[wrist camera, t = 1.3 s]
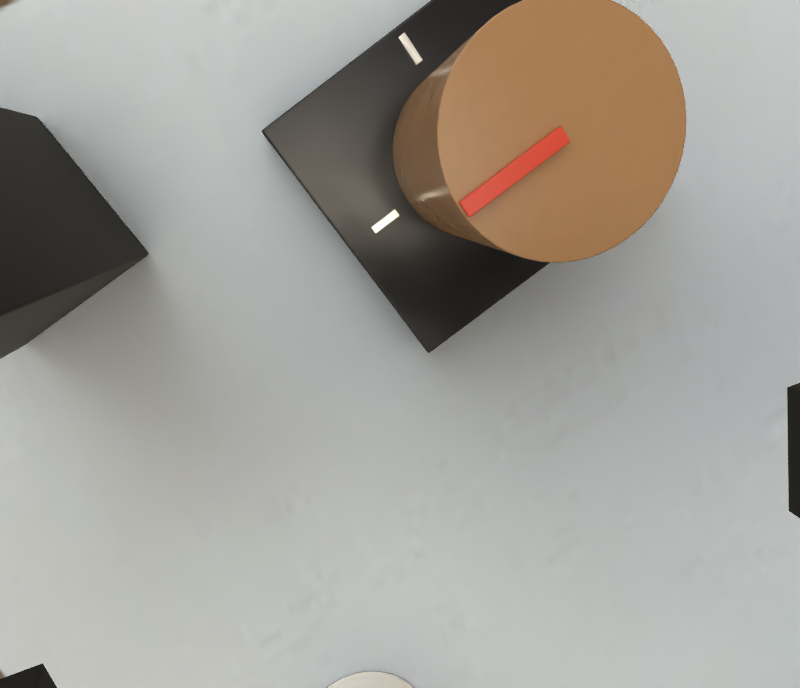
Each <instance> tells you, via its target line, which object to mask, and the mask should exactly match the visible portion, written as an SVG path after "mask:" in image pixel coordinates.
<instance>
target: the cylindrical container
mask: <svg viewBox="0 0 800 688" xmlns="http://www.w3.org/2000/svg"><path fill="white" fill-rule="evenodd" d="M328 688H413V687H412V686H411V685H410V684H409V683H407V682H406V681H405V680H403V679H401V678H399V677H397V676H395V675H392V674H388V673H383V672H362V673H356V674H353V675H349V676H346V677H344V678H342V679H340V680H338V681H336V682H335V683H333V684H332V685H330V686H329V687H328Z"/></svg>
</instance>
